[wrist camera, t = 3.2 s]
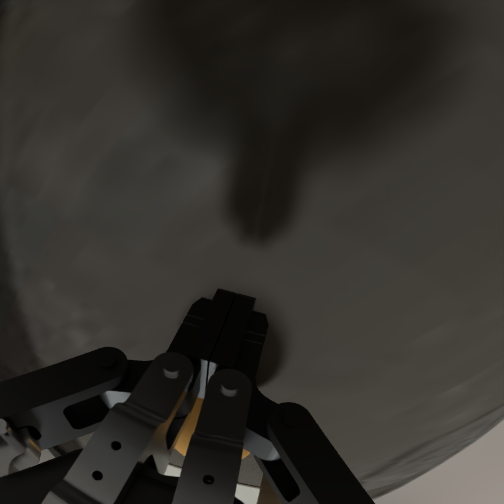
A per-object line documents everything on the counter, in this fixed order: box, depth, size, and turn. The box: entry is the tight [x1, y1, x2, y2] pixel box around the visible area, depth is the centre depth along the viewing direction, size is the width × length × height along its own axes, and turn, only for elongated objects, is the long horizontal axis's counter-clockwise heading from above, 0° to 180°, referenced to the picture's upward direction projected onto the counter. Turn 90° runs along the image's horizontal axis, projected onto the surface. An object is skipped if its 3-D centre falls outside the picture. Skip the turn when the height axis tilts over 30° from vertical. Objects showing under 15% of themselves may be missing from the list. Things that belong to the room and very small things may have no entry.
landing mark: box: [164, 464, 260, 504], centre depth 35 cm, size 14×14×1 cm
